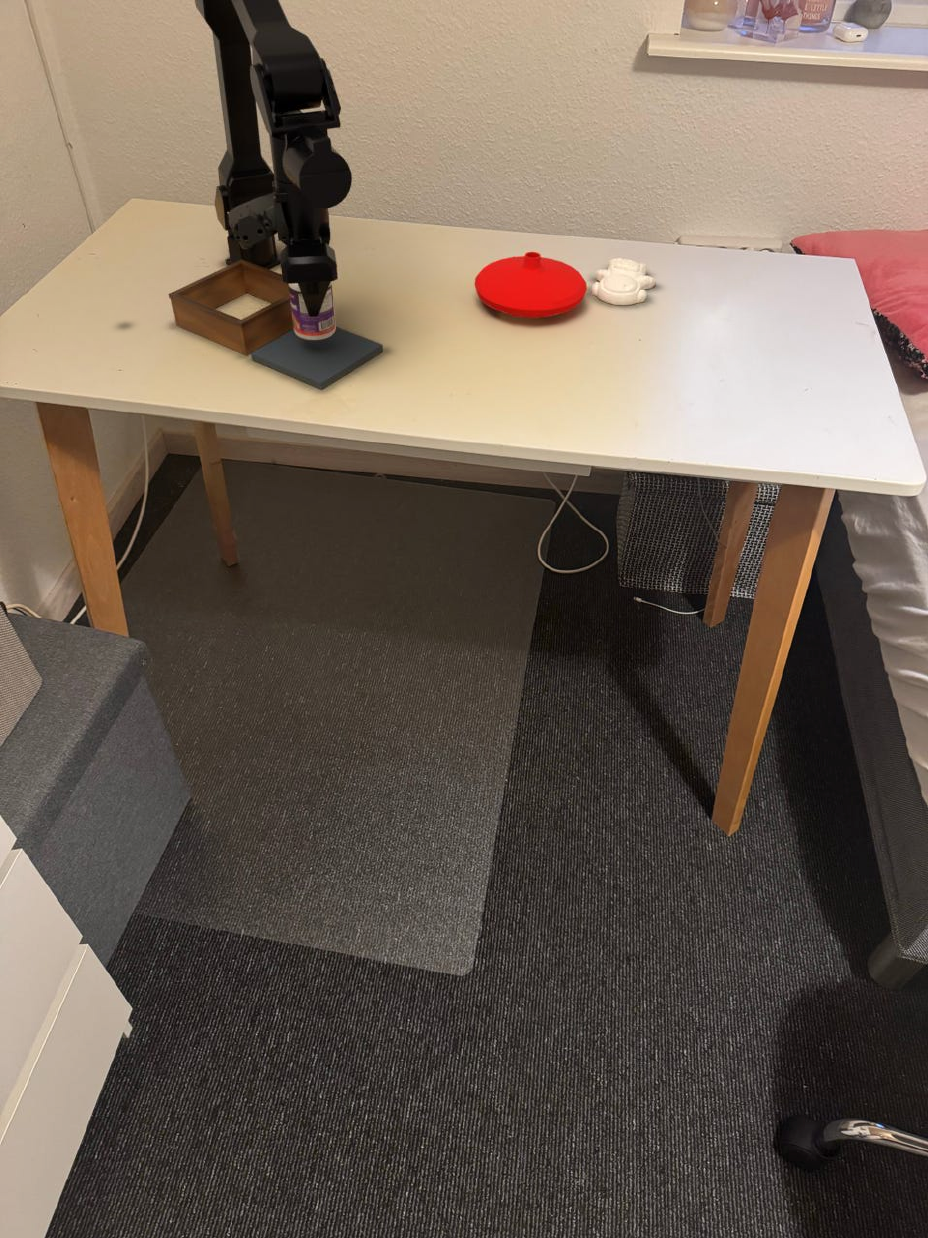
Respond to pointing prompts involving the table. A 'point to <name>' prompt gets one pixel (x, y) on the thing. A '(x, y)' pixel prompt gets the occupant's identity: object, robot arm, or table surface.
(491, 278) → the flat cone with hole
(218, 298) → the wooden square frame
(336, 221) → the table surface
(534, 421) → the table surface
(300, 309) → the pill bottle
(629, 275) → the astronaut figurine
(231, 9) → the robot arm
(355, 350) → the mat
